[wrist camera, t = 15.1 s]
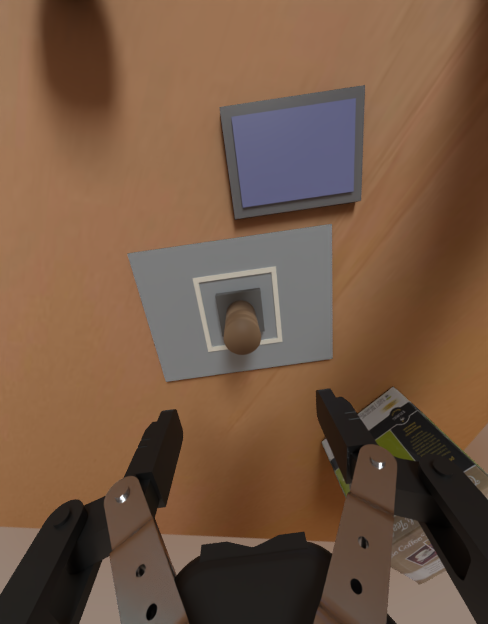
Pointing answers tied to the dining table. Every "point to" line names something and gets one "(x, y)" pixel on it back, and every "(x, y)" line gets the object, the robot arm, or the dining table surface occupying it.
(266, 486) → the dining table surface
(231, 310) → the stamp
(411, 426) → the tea box
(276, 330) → the board
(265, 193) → the ink pad
